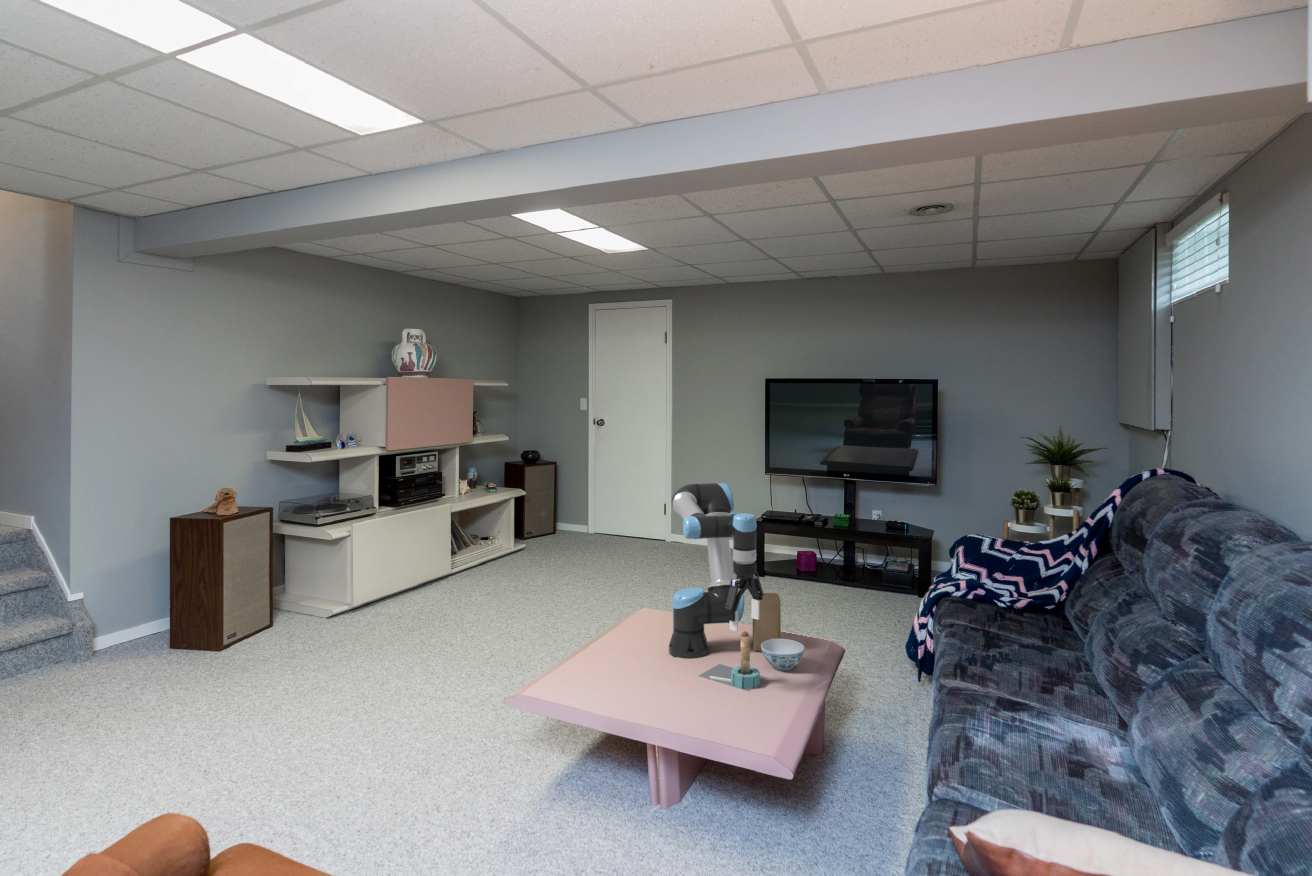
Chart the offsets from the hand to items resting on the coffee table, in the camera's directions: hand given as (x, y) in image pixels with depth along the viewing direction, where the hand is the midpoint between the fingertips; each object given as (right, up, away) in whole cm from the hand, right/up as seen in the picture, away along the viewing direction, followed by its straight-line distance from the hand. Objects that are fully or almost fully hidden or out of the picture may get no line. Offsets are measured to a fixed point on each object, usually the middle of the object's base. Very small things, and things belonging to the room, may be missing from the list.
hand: (744, 624), depth 226 cm
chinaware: (+15, -19, +15) cm, 29 cm away
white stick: (-7, -20, +4) cm, 21 cm away
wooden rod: (0, -20, +1) cm, 20 cm away
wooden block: (+13, -18, +33) cm, 40 cm away
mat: (-3, -20, +6) cm, 21 cm away
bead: (0, -20, +1) cm, 20 cm away
